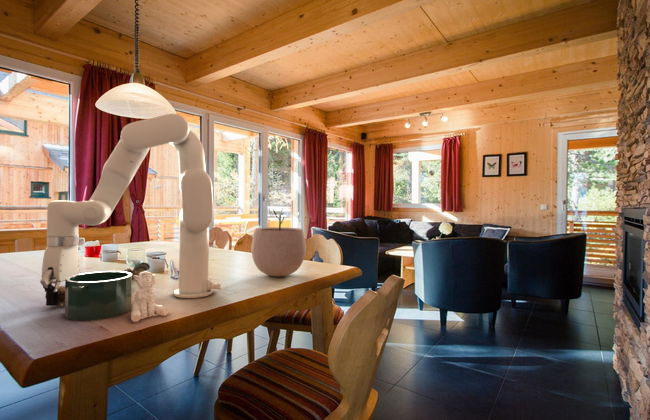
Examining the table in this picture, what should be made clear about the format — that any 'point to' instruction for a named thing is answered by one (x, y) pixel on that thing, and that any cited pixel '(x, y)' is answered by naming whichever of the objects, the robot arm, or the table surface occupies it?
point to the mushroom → (61, 296)
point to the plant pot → (278, 249)
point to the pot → (98, 295)
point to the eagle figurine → (138, 269)
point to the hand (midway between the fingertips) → (61, 301)
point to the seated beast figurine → (145, 299)
